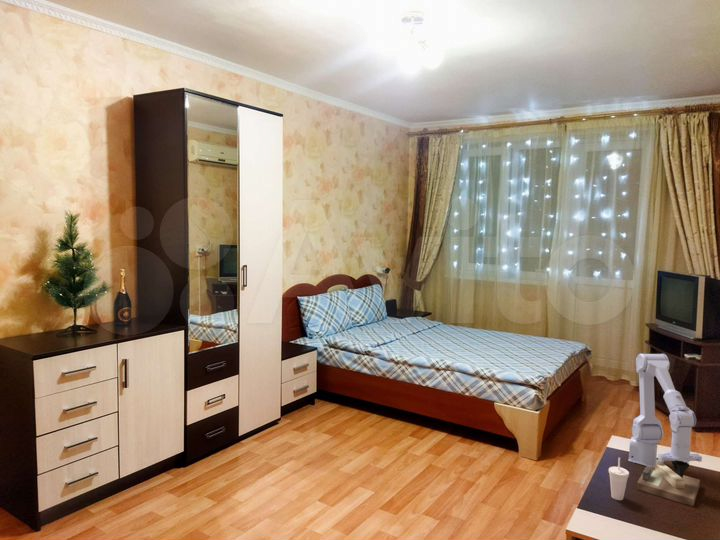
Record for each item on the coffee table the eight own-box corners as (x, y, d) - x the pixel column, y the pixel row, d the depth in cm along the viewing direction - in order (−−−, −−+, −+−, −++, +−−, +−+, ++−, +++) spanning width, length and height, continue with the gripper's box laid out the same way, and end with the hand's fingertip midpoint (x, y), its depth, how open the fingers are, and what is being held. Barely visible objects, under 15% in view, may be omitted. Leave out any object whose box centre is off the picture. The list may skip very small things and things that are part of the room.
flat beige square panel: (636, 489, 183) (637, 474, 183) (646, 471, 196) (647, 457, 196) (693, 506, 172) (694, 490, 172) (699, 486, 185) (700, 471, 185)
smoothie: (626, 494, 180) (628, 456, 178) (629, 503, 174) (631, 464, 172) (605, 491, 182) (608, 453, 180) (608, 500, 176) (610, 461, 174)
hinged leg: (653, 469, 192) (653, 460, 192) (661, 469, 192) (661, 460, 192) (675, 488, 179) (676, 477, 178) (684, 488, 179) (685, 477, 179)
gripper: (667, 448, 177) (665, 486, 179) (708, 448, 178) (706, 485, 179) (655, 439, 185) (653, 476, 186) (695, 439, 185) (692, 475, 186)
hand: (678, 480), depth 183 cm, fingers closed, pressing on hinged leg
